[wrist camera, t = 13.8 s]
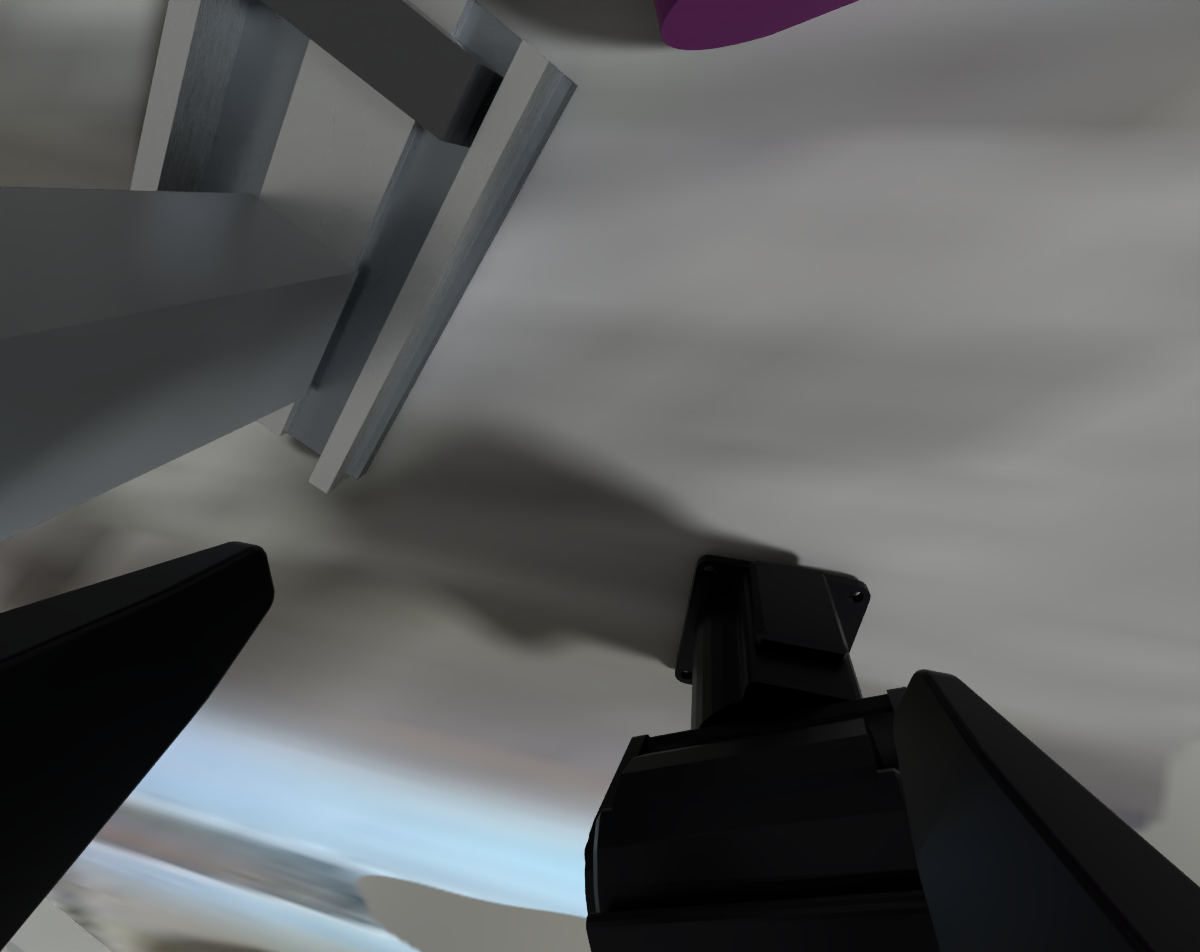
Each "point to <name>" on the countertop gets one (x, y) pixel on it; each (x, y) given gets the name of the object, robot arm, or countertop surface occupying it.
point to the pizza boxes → (52, 933)
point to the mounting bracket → (733, 19)
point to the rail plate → (356, 168)
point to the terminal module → (146, 333)
